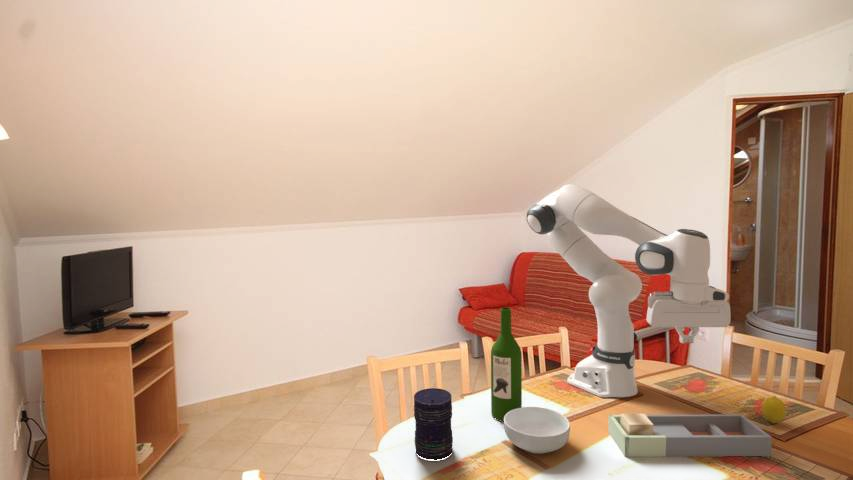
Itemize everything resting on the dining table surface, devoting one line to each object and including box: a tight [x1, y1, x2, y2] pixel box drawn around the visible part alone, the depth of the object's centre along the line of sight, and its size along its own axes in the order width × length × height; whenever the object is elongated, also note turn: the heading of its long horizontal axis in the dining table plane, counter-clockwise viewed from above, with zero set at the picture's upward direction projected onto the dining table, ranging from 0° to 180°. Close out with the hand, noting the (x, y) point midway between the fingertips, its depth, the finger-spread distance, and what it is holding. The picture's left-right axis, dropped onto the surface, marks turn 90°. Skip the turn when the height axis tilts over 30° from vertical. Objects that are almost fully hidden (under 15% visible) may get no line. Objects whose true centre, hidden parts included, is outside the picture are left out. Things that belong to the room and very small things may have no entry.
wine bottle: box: [490, 307, 523, 422], centre depth 140 cm, size 9×9×32 cm
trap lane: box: [607, 413, 773, 458], centre depth 124 cm, size 36×12×5 cm, turn 88°
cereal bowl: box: [503, 406, 571, 455], centre depth 125 cm, size 17×17×7 cm
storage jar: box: [413, 387, 454, 460], centre depth 122 cm, size 10×10×15 cm
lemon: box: [761, 395, 787, 425], centre depth 133 cm, size 6×6×8 cm
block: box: [620, 413, 653, 435], centre depth 124 cm, size 6×6×4 cm
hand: (686, 342), depth 126 cm, fingers closed
